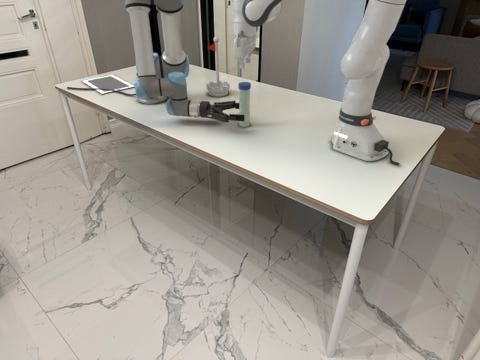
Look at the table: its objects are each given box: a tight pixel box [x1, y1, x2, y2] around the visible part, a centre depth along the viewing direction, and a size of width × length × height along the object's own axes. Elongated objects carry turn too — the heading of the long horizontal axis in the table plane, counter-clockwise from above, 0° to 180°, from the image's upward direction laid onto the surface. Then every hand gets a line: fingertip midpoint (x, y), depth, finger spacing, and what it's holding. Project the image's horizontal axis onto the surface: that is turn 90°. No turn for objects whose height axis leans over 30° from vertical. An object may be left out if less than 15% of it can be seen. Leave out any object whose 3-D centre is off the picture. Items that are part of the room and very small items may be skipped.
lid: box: [237, 81, 252, 90], centre depth 145 cm, size 5×5×2 cm
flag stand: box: [205, 36, 231, 98], centre depth 183 cm, size 13×13×30 cm
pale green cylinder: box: [238, 88, 251, 128], centre depth 150 cm, size 5×5×19 cm
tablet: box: [81, 74, 135, 95], centre depth 206 cm, size 32×20×1 cm, turn 41°
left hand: (246, 112), depth 151 cm, fingers open, 13 cm apart
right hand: (244, 65), depth 141 cm, fingers open, 7 cm apart
